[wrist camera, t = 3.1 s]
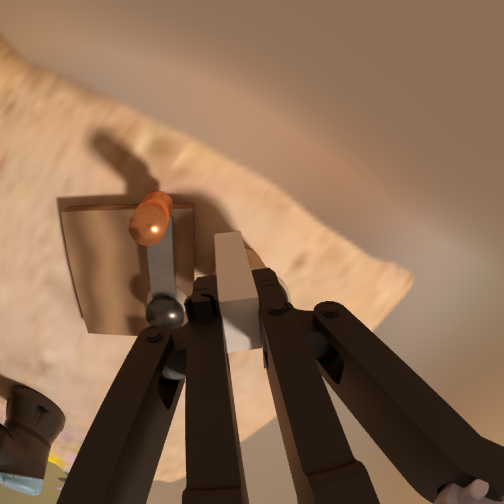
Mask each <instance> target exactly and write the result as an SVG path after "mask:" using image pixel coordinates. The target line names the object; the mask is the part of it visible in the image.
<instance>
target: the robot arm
mask: <svg viewBox="0 0 504 504" xmlns="http://www.w3.org/2000/svg"><path fill="white" fill-rule="evenodd" d="M214 240H215V257H216V273H217V275H213V276H204V277H197V279H196V280H195V281H194V283H193V292H192V295H190V296H189V297H188V298H186V299H185V302H184V306H185V311H186V315H187V319H188V322H187V323H186V324H185V325H183V326H182V327H179V328H177V329H174V330H171V331H170V330H169V328H167V327H166V326H164V325H152V326H149V327H147V328H145V329H143V330H142V331H141V332H140V334H139V335H138V337H137V339H136V341H135V342H134V344H133V346H132V348H131V350H130V351H129V353H128V355H127V357H126V359H125V361H124V363H123V364H122V366H121V368H120V370H119V372H118V374H117V376H116V378H115V379H114V381H113V383H112V385H111V387H110V389H109V391H108V393H107V395H106V397H105V399H104V401H103V403H102V405H101V407H100V409H99V411H98V413H97V415H96V417H95V419H94V421H93V423H92V425H91V427H90V429H89V431H88V433H87V435H86V437H85V440H84V442H83V444H82V446H81V448H80V450H79V452H78V455H77V457H76V459H75V461H74V463H73V466H72V468H71V470H70V472H69V475H68V477H67V479H66V482H65V484H64V487H63V489H62V491H61V494H60V496H59V498H58V501H57V504H146V502H147V498H148V495H149V491H150V488H151V485H152V482H153V479H154V475H155V472H156V469H157V466H158V462H159V459H160V456H161V453H162V450H163V447H164V443H165V440H166V437H167V434H168V431H169V428H170V425H171V422H172V419H173V415H174V412H175V409H176V406H177V403H178V400H179V397H180V394H181V391H182V388H183V385H184V382H185V377H186V391H185V443H186V479H187V485H186V489H185V490H184V491H183V494H182V504H249V499H248V493H247V488H246V482H245V475H244V468H243V462H242V455H241V448H240V441H239V434H238V427H237V420H236V413H235V405H234V397H233V390H232V382H231V373H230V365H229V358H228V352H236V351H244V350H251V349H258V348H262V347H263V360H264V368H266V370H267V375H268V379H269V383H270V387H271V392H272V396H273V400H274V404H275V409H276V413H277V417H278V421H279V425H280V430H281V433H282V437H283V442H284V446H285V450H286V454H287V458H288V462H289V466H290V470H291V474H292V479H293V483H294V487H295V490H296V494H297V501H298V504H380V503H379V500H378V498H377V495H376V492H375V490H374V487H373V485H372V482H371V480H370V477H369V475H368V472H367V470H366V468H365V466H364V465H363V464H362V462H360V461H358V460H356V459H355V458H354V456H353V454H352V452H351V449H350V446H349V444H348V441H347V439H346V436H345V434H344V431H343V428H342V426H341V423H340V421H339V418H338V416H337V413H336V411H335V408H334V406H333V403H332V401H331V398H330V396H329V393H328V390H327V388H326V386H325V383H324V381H323V378H324V379H325V380H326V381H327V383H328V384H329V385H330V386H331V388H332V389H333V390H334V392H335V393H336V394H337V395H338V397H339V398H340V399H341V400H342V402H343V403H344V404H345V405H346V407H347V408H348V409H349V410H350V412H351V413H352V414H353V415H354V417H355V418H356V419H357V420H358V422H359V423H360V424H361V425H362V427H363V428H364V429H365V430H366V432H367V433H368V434H369V435H370V437H371V438H372V439H373V440H374V442H375V443H376V444H377V445H378V446H379V448H380V449H381V450H382V451H383V452H384V454H385V455H386V456H387V457H388V459H389V460H390V461H391V462H392V463H393V465H394V466H395V467H396V468H397V470H398V471H399V472H400V473H401V474H402V476H403V477H404V478H405V479H406V480H407V482H408V483H409V484H410V485H411V486H412V487H413V488H414V489H415V490H416V491H417V492H418V493H419V494H420V495H421V496H423V497H424V498H425V499H426V500H428V501H430V502H431V503H433V504H504V447H503V446H501V445H499V444H496V443H494V442H492V441H490V440H487V439H485V438H483V437H481V436H480V435H479V434H478V433H477V432H476V431H475V430H474V429H473V428H472V427H471V426H470V425H469V424H468V423H467V422H466V421H465V420H464V419H463V418H462V417H461V416H460V415H459V414H458V413H457V412H456V411H455V410H454V409H453V408H452V407H451V406H450V405H449V404H448V403H447V402H445V401H444V400H443V399H442V398H441V397H440V396H439V395H438V394H437V393H436V392H435V391H434V390H433V389H432V388H431V387H430V386H429V385H428V384H427V383H426V382H425V381H424V380H423V379H422V378H421V377H419V376H418V375H417V374H416V373H415V372H414V371H413V370H412V369H411V368H410V367H409V366H408V365H407V364H406V363H405V362H404V361H403V360H401V359H400V358H399V357H398V356H397V355H396V354H395V353H394V352H393V351H392V350H391V349H390V348H389V347H388V346H387V345H385V344H384V343H383V342H382V341H381V340H380V339H379V338H378V337H377V336H376V335H375V334H374V333H373V332H371V331H370V330H369V329H368V328H367V327H366V326H365V325H364V324H363V323H362V322H361V321H360V320H358V319H357V318H356V317H355V316H354V315H353V314H352V313H351V312H350V311H349V310H348V309H346V308H345V307H344V306H343V305H341V304H340V303H337V302H334V301H325V302H321V303H319V304H317V305H316V306H315V307H314V311H304V310H298V309H295V308H294V307H293V305H292V304H291V303H290V302H288V301H287V300H286V298H285V295H284V293H283V291H282V288H281V286H280V283H279V281H278V278H277V276H276V273H275V272H274V271H273V270H271V269H270V268H262V269H254V270H251V268H250V265H249V261H248V257H247V253H246V250H245V246H244V242H243V239H242V235H241V231H235V232H227V233H219V234H214ZM321 375H322V376H323V378H322V376H321ZM65 420H66V419H65V416H64V414H63V412H62V411H61V410H60V409H59V408H58V407H57V406H56V405H55V404H54V403H53V402H52V401H50V400H49V399H48V398H46V397H45V396H43V395H41V394H40V393H38V392H36V391H34V390H32V389H29V388H26V387H22V386H13V387H11V389H10V391H9V393H8V395H7V407H6V420H5V423H4V426H3V425H2V424H1V423H0V484H2V485H4V486H6V487H8V488H11V489H13V490H16V491H18V492H21V493H24V494H27V495H33V496H36V495H39V494H40V492H41V488H42V484H43V482H44V475H45V471H46V466H47V461H48V457H49V452H50V448H51V445H52V443H53V442H54V440H55V439H56V438H57V436H58V435H59V433H60V432H61V431H62V430H63V428H64V424H65Z"/></svg>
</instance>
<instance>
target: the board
mask: <svg viewBox="0 0 504 504" xmlns="http://www.w3.org/2000/svg"><path fill="white" fill-rule="evenodd" d="M139 205H140V204H126V205H96V206H74V207H67V208H65V209H64V210H63V211H62V212H61V216H62V223H63V230H64V236H65V241H66V247H67V252H68V257H69V262H70V267H71V271H72V275H73V280H74V284H75V288H76V292H77V296H78V299H79V303H80V307H81V310H82V314H83V317H84V321H85V324H86V327H87V330H88V333H94V334H110V335H130V336H138V335H139V334H140V332H141V331H142V330H143V329H145V328H147V327H149V326H150V324H149V323H148V322H147V319H146V310H147V306H148V304H149V302H150V301H151V300H152V292H151V283H150V275H149V265H148V254H147V246H143V245H140V244H138V243H137V242H135V241H134V240H133V238H132V237H131V235H130V233H129V229H128V224H129V221H130V218H131V217H132V215H133V214H134V212H135V211H136V209H137V208H138V207H139ZM173 223H174V250H175V269H176V285H177V299H178V302H179V303H180V304H181V305H182V306H183V308H184V322H183V324H182V326H183V325H185V324H186V323H187V322H188V319H187V315H186V311H185V306H184V302H185V299H186V298H188V297H189V296H190V295H192V292H193V283H194V204H173ZM182 326H181V327H182Z"/></svg>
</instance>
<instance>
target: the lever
mask: <svg viewBox="0 0 504 504" xmlns="http://www.w3.org/2000/svg"><path fill="white" fill-rule="evenodd" d="M128 229H129V233H130V235H131V237H132V238H133V240H134V241H135V242H137V243H138V244H140V245H143V246H147V254H148V265H149V275H150V283H151V292H152V300H151V301H150V302H149V304H148V306H147V310H146V319H147V322H148V323H149V324H150V326H152V325H164V326H166V327H167V328H169V330H170V331H171V330H174V329H177V328H179V327H181V326H182V324H183V322H184V308H183V306H182V305H181V304H180V303H179V302H178V299H177V285H176V269H175V250H174V223H173V201H172V200H171V198H170V197H169V196H168V195H167V194H166V193H164V192H161V191H154V192H151V193H149V194H148V195H147V196H146V197H145V198H144V199H143V201H142V202H141V204H140V205H139V207H138V208H137V209H136V211H135V212H134V214H133V215H132V217H131V218H130V221H129V224H128ZM185 378H186V377H185Z"/></svg>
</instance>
